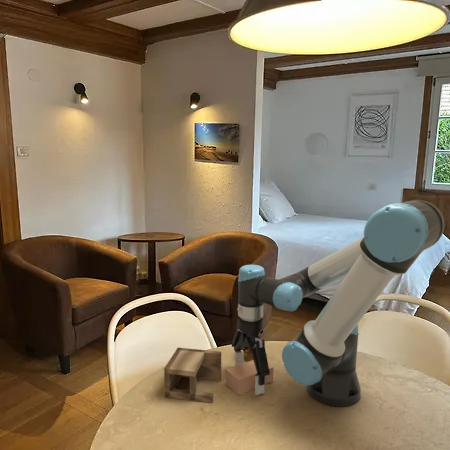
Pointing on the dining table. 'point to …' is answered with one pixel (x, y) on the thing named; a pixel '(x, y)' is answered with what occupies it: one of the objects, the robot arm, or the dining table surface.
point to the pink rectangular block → (245, 377)
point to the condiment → (248, 354)
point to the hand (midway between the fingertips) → (248, 381)
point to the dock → (191, 372)
